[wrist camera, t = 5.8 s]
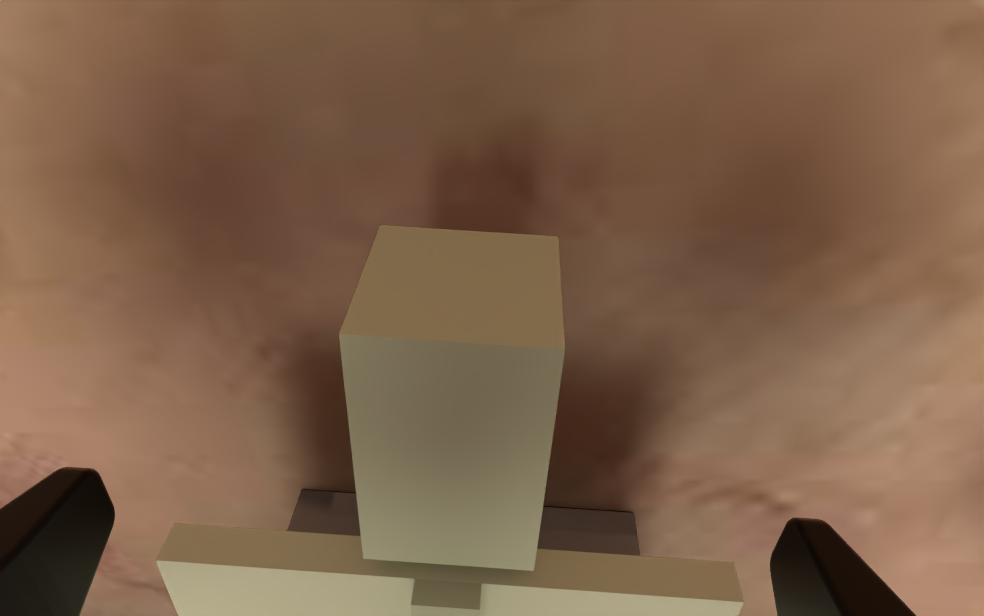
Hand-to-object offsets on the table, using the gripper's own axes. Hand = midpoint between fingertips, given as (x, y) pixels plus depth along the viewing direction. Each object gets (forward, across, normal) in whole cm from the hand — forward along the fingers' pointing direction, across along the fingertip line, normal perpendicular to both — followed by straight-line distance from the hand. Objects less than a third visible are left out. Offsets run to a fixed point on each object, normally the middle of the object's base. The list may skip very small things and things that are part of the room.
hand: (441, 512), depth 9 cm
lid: (+4, 0, +8) cm, 9 cm away
